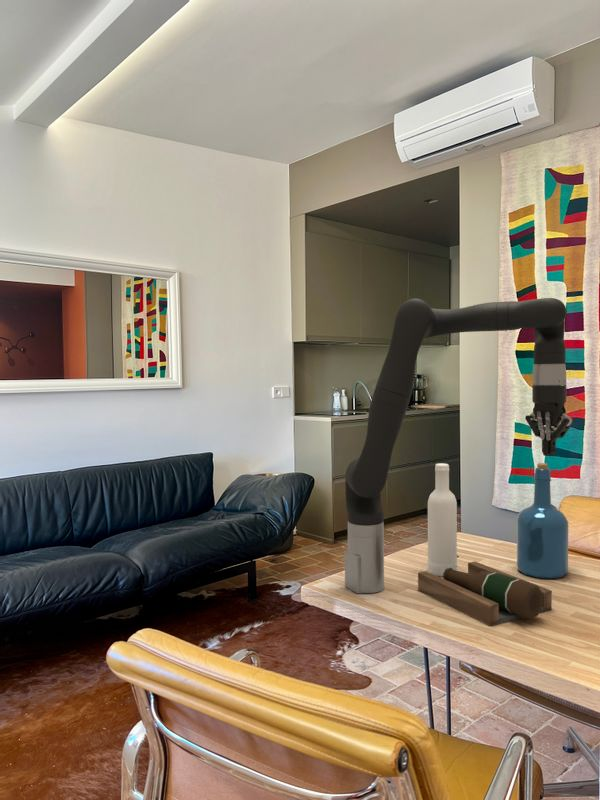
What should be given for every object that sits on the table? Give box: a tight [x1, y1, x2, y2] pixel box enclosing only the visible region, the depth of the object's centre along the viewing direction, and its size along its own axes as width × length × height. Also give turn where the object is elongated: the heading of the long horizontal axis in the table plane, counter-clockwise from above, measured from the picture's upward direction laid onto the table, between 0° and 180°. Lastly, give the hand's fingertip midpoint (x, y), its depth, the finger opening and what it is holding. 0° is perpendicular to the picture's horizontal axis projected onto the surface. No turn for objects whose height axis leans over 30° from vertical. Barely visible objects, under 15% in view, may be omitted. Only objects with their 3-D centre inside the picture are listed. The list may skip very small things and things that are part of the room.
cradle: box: [417, 561, 553, 627], centre depth 148 cm, size 19×25×4 cm
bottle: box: [427, 462, 458, 577], centre depth 168 cm, size 8×8×30 cm
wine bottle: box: [516, 462, 569, 579], centre depth 168 cm, size 14×13×30 cm
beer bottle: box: [442, 568, 543, 620], centre depth 144 cm, size 8×8×24 cm
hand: (548, 455), depth 146 cm, fingers closed
